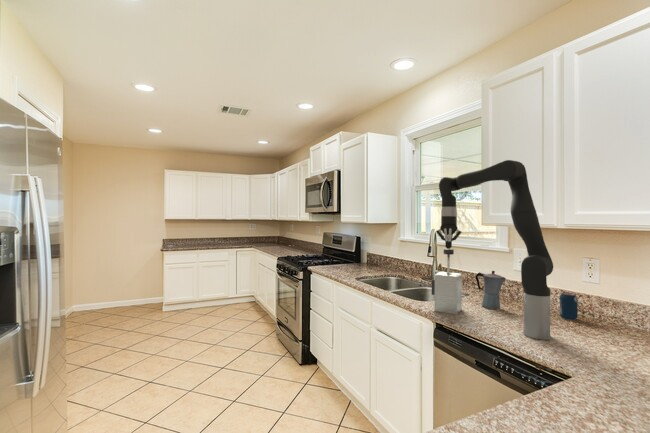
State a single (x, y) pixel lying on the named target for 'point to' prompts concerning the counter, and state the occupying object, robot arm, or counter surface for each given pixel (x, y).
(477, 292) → the counter surface
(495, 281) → the moka pot
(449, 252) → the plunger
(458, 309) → the grey block
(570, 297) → the soda can
